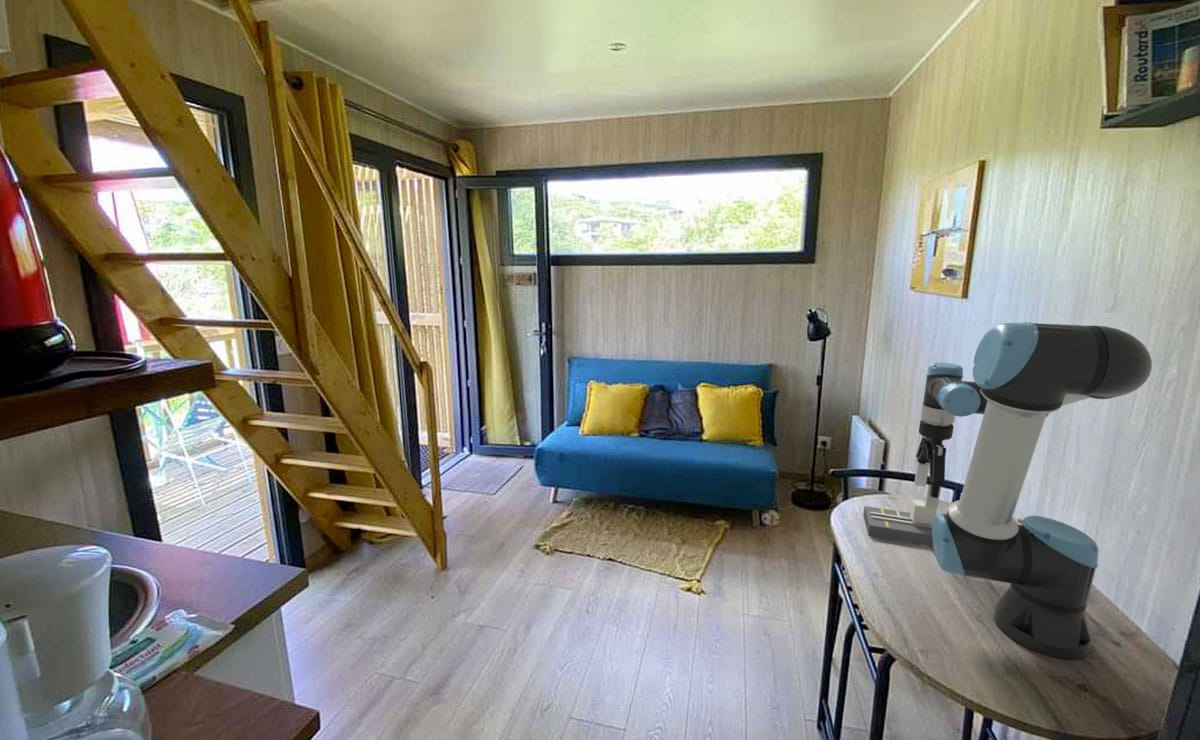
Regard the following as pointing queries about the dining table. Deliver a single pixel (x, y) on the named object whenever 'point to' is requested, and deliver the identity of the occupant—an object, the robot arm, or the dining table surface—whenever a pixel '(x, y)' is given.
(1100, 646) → the dining table surface
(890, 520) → the fader console
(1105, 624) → the dining table surface
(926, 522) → the fader knob
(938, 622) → the dining table surface
